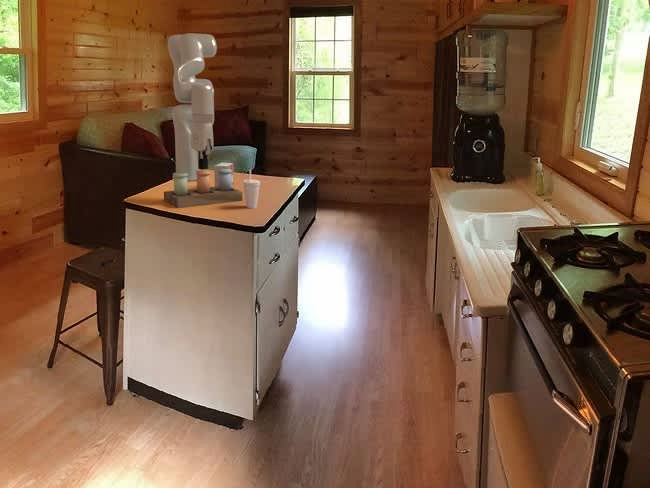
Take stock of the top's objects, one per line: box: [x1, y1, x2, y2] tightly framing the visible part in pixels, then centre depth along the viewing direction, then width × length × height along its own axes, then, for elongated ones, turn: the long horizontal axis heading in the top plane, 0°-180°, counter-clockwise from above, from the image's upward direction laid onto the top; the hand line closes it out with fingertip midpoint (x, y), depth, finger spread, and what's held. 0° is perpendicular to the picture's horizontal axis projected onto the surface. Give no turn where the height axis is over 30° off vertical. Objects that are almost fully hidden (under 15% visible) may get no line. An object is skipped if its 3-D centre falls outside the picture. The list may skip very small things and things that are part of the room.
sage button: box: [172, 171, 189, 196], centre depth 228 cm, size 5×5×8 cm
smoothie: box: [242, 168, 261, 209], centre depth 227 cm, size 6×6×14 cm
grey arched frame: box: [213, 162, 235, 189], centre depth 254 cm, size 8×6×10 cm
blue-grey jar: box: [218, 169, 232, 191], centre depth 239 cm, size 5×5×8 cm
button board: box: [163, 186, 243, 209], centre depth 235 cm, size 13×26×3 cm, turn 127°
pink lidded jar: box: [196, 169, 212, 194], centre depth 233 cm, size 5×5×8 cm
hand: (203, 168), depth 232 cm, fingers closed
